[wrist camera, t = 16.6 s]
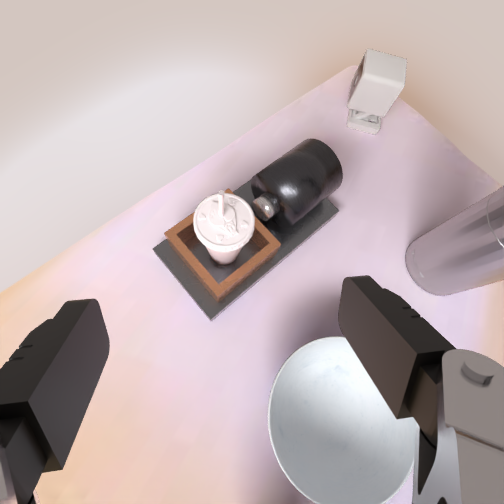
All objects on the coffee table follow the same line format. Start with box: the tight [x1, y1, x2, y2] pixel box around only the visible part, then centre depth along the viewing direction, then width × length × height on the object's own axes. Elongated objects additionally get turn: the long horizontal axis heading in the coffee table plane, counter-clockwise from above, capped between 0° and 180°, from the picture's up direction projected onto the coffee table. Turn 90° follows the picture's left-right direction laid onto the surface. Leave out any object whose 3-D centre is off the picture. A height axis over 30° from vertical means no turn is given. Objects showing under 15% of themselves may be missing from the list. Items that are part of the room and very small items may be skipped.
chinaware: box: [268, 336, 418, 504], centre depth 32 cm, size 15×15×8 cm
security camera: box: [347, 49, 407, 135], centre depth 47 cm, size 6×7×10 cm
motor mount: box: [153, 139, 343, 321], centre depth 37 cm, size 24×12×10 cm, turn 131°
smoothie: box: [193, 190, 255, 265], centre depth 32 cm, size 6×6×14 cm
